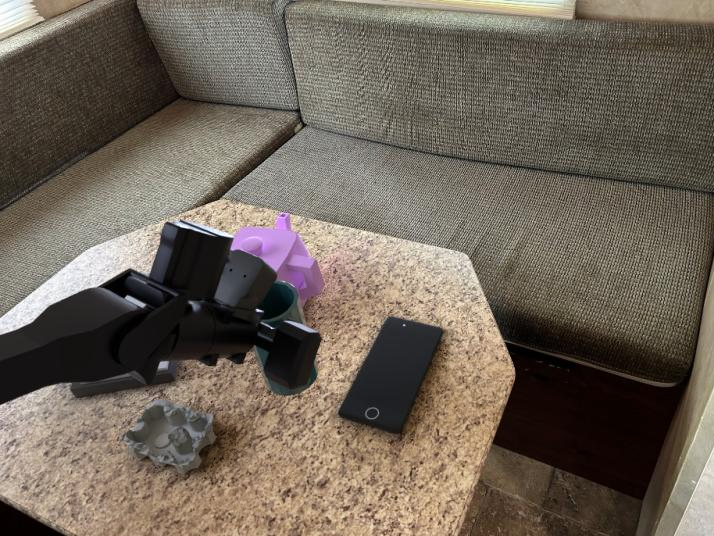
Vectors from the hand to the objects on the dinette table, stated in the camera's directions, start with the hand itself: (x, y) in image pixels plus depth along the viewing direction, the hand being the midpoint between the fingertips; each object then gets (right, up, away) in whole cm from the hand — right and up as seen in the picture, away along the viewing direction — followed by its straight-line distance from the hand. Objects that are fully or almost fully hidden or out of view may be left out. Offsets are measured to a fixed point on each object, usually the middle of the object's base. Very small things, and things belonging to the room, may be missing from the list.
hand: (288, 330), depth 74 cm
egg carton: (-16, -15, +5) cm, 23 cm away
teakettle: (-8, +1, +24) cm, 26 cm away
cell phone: (+13, -8, +11) cm, 18 cm away
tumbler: (0, -6, +3) cm, 7 cm away
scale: (-27, -4, +20) cm, 34 cm away
